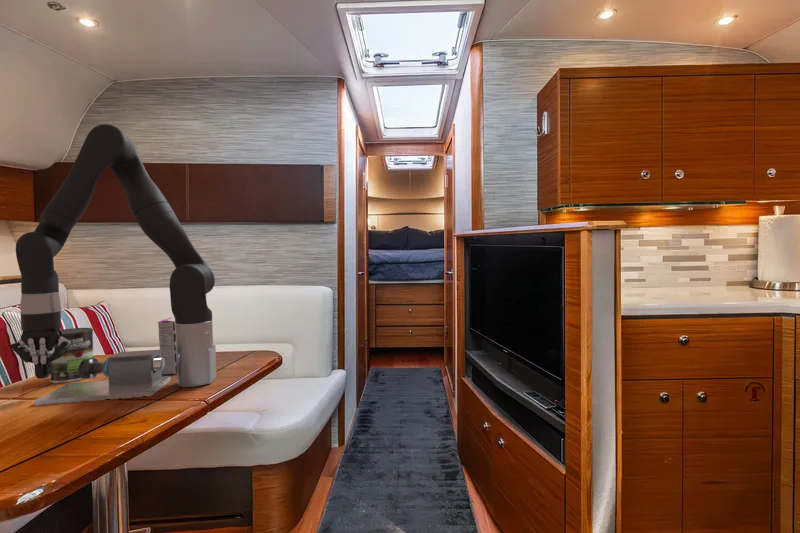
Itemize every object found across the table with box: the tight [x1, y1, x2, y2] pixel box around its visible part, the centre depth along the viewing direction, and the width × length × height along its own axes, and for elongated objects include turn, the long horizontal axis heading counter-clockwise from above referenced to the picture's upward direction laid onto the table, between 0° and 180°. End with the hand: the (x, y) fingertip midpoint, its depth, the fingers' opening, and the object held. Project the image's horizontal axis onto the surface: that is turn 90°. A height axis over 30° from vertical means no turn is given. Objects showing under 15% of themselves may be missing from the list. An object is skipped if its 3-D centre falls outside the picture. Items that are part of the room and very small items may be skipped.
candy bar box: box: [157, 315, 177, 376], centre depth 121 cm, size 11×5×16 cm, turn 6°
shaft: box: [79, 357, 165, 380], centre depth 103 cm, size 18×5×5 cm, turn 101°
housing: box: [33, 349, 171, 406], centre depth 102 cm, size 26×13×10 cm, turn 101°
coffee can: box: [49, 327, 95, 384], centre depth 115 cm, size 10×10×14 cm
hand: (43, 377), depth 99 cm, fingers closed
